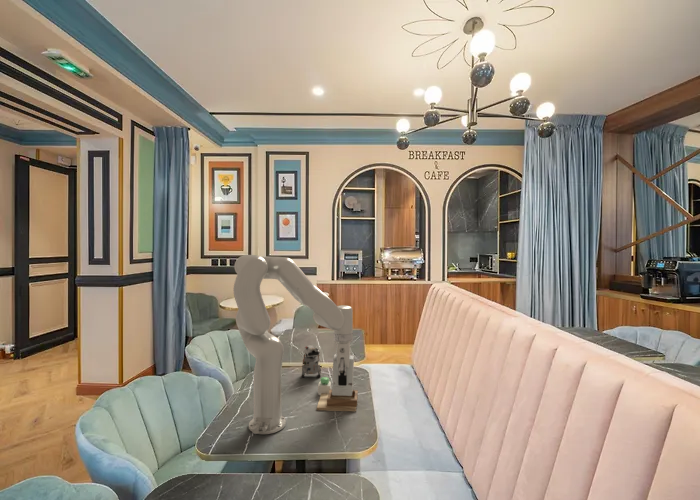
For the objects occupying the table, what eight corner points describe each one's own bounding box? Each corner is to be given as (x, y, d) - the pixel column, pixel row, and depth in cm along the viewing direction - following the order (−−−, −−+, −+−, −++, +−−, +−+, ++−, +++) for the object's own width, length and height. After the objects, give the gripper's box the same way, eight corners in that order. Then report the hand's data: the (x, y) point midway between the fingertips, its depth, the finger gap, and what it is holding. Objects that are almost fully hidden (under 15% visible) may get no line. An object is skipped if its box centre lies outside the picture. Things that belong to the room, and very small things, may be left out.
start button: (328, 392, 148) (328, 380, 148) (319, 392, 148) (319, 380, 148) (329, 389, 152) (329, 377, 152) (321, 389, 152) (321, 377, 152)
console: (329, 395, 147) (329, 386, 147) (318, 395, 148) (318, 385, 148) (331, 390, 152) (331, 381, 152) (319, 390, 153) (319, 381, 152)
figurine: (301, 382, 161) (301, 350, 161) (302, 373, 172) (302, 343, 172) (320, 382, 162) (321, 349, 161) (320, 373, 173) (321, 343, 173)
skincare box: (331, 395, 137) (331, 358, 137) (333, 389, 143) (333, 353, 143) (353, 396, 137) (353, 358, 136) (353, 390, 143) (354, 353, 142)
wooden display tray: (356, 411, 133) (356, 402, 133) (316, 410, 134) (316, 401, 134) (357, 396, 146) (357, 388, 146) (321, 395, 147) (321, 387, 147)
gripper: (351, 343, 131) (351, 391, 131) (353, 331, 148) (353, 374, 148) (331, 342, 131) (331, 390, 132) (335, 331, 148) (335, 373, 149)
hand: (343, 381), depth 140 cm, fingers closed on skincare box, 5 cm apart
